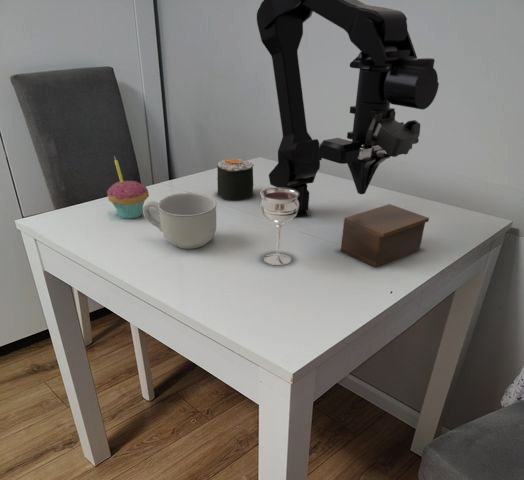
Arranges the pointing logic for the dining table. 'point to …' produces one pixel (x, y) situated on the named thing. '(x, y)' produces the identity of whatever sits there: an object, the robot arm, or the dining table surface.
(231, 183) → the sushi
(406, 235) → the chest
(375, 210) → the lid
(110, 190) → the cupcake
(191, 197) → the teacup
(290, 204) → the wineglass
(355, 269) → the dining table surface
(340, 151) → the robot arm
